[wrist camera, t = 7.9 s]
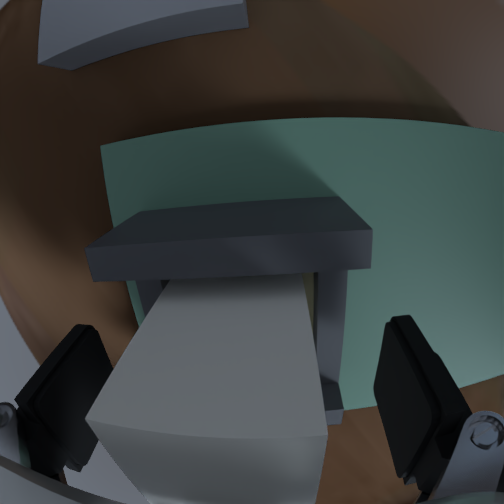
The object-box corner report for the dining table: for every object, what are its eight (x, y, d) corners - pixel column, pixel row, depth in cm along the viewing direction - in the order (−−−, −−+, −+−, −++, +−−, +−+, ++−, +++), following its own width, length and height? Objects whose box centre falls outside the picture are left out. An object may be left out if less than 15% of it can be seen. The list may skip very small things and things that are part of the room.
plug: (296, 245, 11) (333, 479, 3) (298, 353, 13) (309, 550, 5) (188, 252, 12) (67, 451, 3) (208, 355, 13) (159, 540, 5)
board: (551, 145, 10) (618, 161, 5) (507, 359, 15) (542, 408, 10) (114, 143, 12) (32, 157, 7) (174, 397, 16) (150, 467, 12)
